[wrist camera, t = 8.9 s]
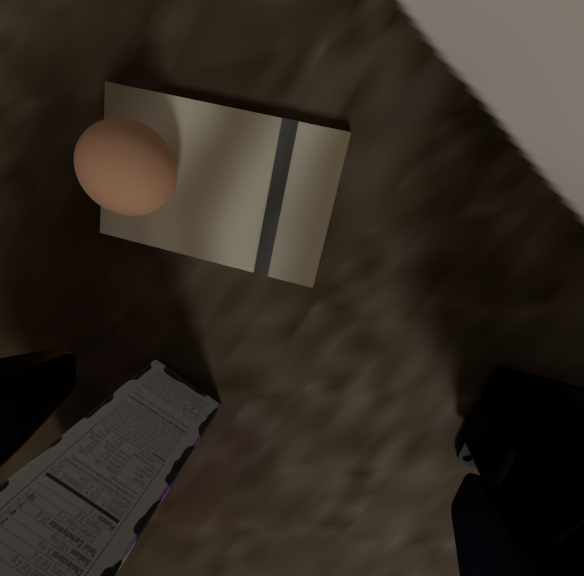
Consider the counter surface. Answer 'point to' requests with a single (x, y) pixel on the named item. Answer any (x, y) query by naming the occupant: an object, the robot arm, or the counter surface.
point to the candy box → (102, 479)
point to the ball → (125, 166)
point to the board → (235, 184)
